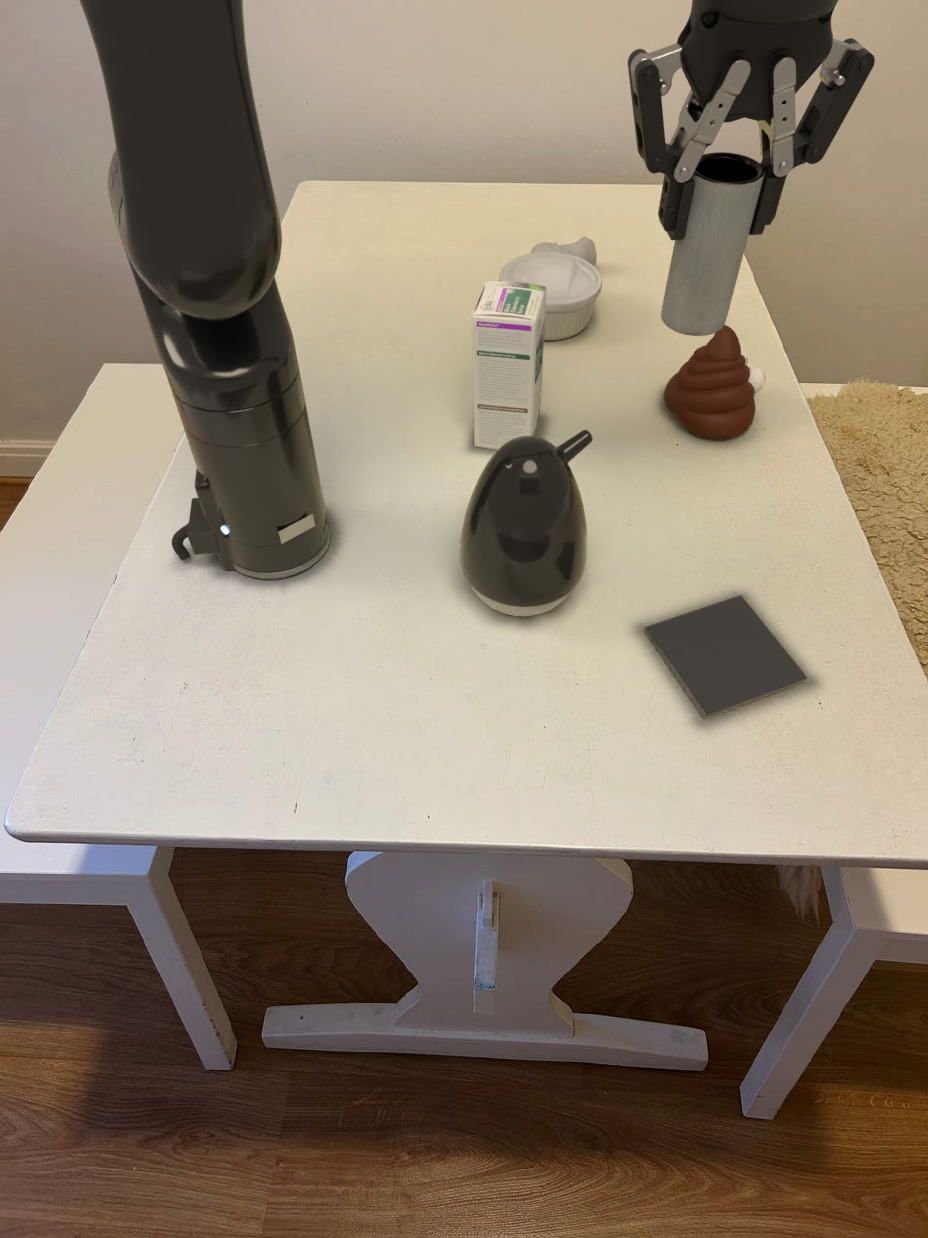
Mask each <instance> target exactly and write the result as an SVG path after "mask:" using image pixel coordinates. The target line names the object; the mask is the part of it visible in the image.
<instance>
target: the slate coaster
mask: <svg viewBox="0 0 928 1238" xmlns="http://www.w3.org/2000/svg"><path fill="white" fill-rule="evenodd" d="M643 632H644V633H645V635H646V637H647V638H648V640H649V641H650V642H651V645H653V647H654V648H655V649H656V651H657V653H658V654H659V655H660V657H661V658H662V660H663V661H664V663H665V665H667V667H668V669H669V670H670V672H671V673H672V674H673V677H675V679H676V680H677V681H678V684H680V686H681V688H682V689H683V691H684V692H685V693H686V695H687V696H688V698H689V699H690V701H691V703H692V704H694V706H695V708H696V710H697V711H698V712H699V714H700V715H701V717H702V718H703V719H704V720H707V719H709V718H713V717H715V716H717V715H720V714H723V713H726V712H729V711H731V710H733V709H737V708H740V707H743V706H745V705H747V704H749V703H753V702H755V701H759V700H761V699H764V698H766V697H769V696H772V695H774V694H777V693H780V692H782V691H785V690H788V689H791V688H793V687H796V686H799V685H801V684H805V683H806V682H807V681H808V676H807V675H806V674H805V673H804V672H803V669H801V668H800V667H799V665H798V664H797V662H795V661H794V659H793V658H792V657H791V655H790V653H788V651H787V650H786V649H785V648H784V646H783V645H782V644H781V643H780V642H779V640H778V639H777V637H775V635H774V634H773V633H772V631H771V630H770V629H769V628H768V627H767V625H766V624H765V623H764V621H763V620H762V619H761V618H760V616H759V615H758V614H757V613H756V612H755V611H754V609H753V608H752V607H751V605H750V604H749V603H748V602H747V600H746V599H745V598H744V597H743V595H741V594H739V595H737V596H734V597H731V598H728V599H725V600H723V601H719V602H717V603H712V604H710V605H707V606H705V607H701V608H699V609H696V610H692V611H690V612H686V613H683V614H680V615H677V616H674V617H671V618H667V619H666V620H662V621H659V622H656V623H652V624H650V625H647V626H645V627H644V630H643Z"/></svg>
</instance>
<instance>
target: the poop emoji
mask: <svg viewBox="0 0 928 1238" xmlns="http://www.w3.org/2000/svg"><path fill="white" fill-rule="evenodd" d="M741 347H742V346H741V343H740V340H739V337H738V335H737V333H736V332H735V331H734V330H733V328H731V326H728V325H726V324H725V325H724V326H723V328H722V329H721V330H719V331H718V332H716V333H714V334H713V336H712V338H710V340H709V341H708V342H707V343H706V344H705V345H702V346H700V347H698V348H696V349H695V350H694V351H693V353H692V355H691V356H690V357H689V359H688V360H687V361H686V362H684V363H683V364H682V365H681V366H680V368H679V369H678V371H677V372H676V373H675V374H674V375H672V377H670V379H669V380H668V382H667V384H666V385H665V388H664V392H663V398H664V404H665V405H666V408H667V409H668V410H669V412H671V413H672V414H674V415H675V417H676V418H677V420H678V421H679V423H680V424H681V425H682V426H683V428H685V429H686V430H687V431H689V432H690V433H692V434H694V436H695V435H696V436H698V437H700V438H703V439H707V440H714V441H721V440H729V439H733V438H736V437H739V436H740V435H743V434H744V433H745V432H746V431H747V430H748V429H749V428H750V427H751V425H752V424H753V421H754V419H755V415H756V401H755V394H757V393H759V392H760V391H761V390H762V389H763V387H764V385H765V382H766V373H765V372H764V371H763V370H762V369H761V368H760V367H757V366H751V367H749V366H748V362H749V359H748V356H747V354H746V353H745V352H744V351H743V350H742V348H741Z"/></svg>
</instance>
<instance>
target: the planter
mask: <svg viewBox="0 0 928 1238" xmlns="http://www.w3.org/2000/svg"><path fill="white" fill-rule="evenodd" d="M760 163H761V162H759V161H757V160H756V159H754V158H751V157H749V156H746V155H743V154H739V153H736V152H735V153H734V152H727V151H726V152H724V151H723V152H722V151H721V152H720V151H718V152H717V151H716V152H708V153H704V154H703V156H702V158H701V160H700V162H699V164H698V166H697V168H696V170H695V172H694V174H693V176H692V177H691V178H692V179H693V181H694V182H695V185H694V190H693V195H692V200H691V205H690V210H689V215H688V220H687V225H686V230H685V235H684V238H683V240H674V243H673V244H674V245H673V249H672V254H671V260H670V264H669V269H668V275H667V279H666V284H665V290H664V295H663V301H662V306H661V312H660V318H661V321H662V323H663V324H664V325H665V326H666V327H667V328H668V329H669V330H671V331H673V332H675V333H677V334H681V335H684V336H691V337H704V336H710V335H715V333H716V332H718V331H719V330H721V329H722V328H723V326H724V325H726V321H727V318H728V315H729V311H730V308H731V304H732V300H733V295H734V293H735V288H736V285H737V280H738V276H739V274H740V269H741V265H742V263H743V257H744V255H745V250H746V246H747V241H748V238H749V236H750V235H749V231H750V227H751V224H752V220H753V216H754V212H755V208H756V204H757V201H758V197H759V193H760V189H761V185H762V182H763V178H764V169H763V167H762V165H761V164H760Z"/></svg>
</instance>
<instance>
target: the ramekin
mask: <svg viewBox="0 0 928 1238" xmlns="http://www.w3.org/2000/svg"><path fill="white" fill-rule="evenodd" d="M499 273H500V274H499V280H498V281H510V282H522V283H529V284H535V285H540V286H545V287H546V289H547V292H546V310H545V330H544V341H560V340H566V339H569V338H571V337H574V336H575V335H577V334H579V333H580V332H581V331H583V330H584V329H585V328H587V325H588V324H589V322H590V319H591V317H592V314H593V312H594V309H595V305H596V302H597V299H598V297H599V295H601V292H602V287H603V277H602V275H601V272H600V271H599V270H598V269H597V267H595V265H594V266H593V265H592V264H590V263H589V262H587V261H586V260H583V259H581V258H579V257H576V256H573V255H569V254H564V253H558V252H538V253H531V254H530V253H526V254H523V255H520V256H516V257H515V258H513V259H511V260H510V261H508V262H506V264H505V265H504V266H503V267H502V268H501V271H500V272H499Z"/></svg>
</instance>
